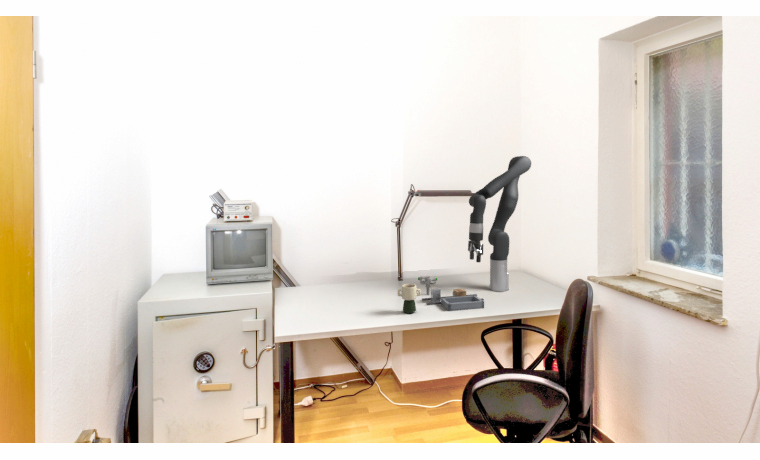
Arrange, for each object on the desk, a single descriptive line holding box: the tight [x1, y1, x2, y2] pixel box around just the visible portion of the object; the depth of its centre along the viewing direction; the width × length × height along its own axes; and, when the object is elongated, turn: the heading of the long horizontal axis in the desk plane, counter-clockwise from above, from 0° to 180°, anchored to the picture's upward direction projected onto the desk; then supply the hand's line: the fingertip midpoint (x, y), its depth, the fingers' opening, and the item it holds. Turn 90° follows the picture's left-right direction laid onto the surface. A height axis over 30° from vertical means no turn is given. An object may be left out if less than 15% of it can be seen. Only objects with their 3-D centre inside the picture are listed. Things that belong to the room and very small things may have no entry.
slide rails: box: [421, 293, 485, 306], centre depth 217 cm, size 30×10×1 cm, turn 100°
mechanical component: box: [417, 275, 438, 296], centre depth 228 cm, size 3×10×10 cm, turn 78°
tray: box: [440, 295, 485, 312], centre depth 206 cm, size 18×11×4 cm, turn 100°
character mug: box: [397, 283, 422, 314], centre depth 199 cm, size 11×7×13 cm, turn 92°
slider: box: [452, 288, 467, 297], centre depth 217 cm, size 6×5×5 cm
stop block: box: [430, 287, 442, 303], centre depth 215 cm, size 4×4×7 cm
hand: (475, 260), depth 230 cm, fingers open, 8 cm apart
